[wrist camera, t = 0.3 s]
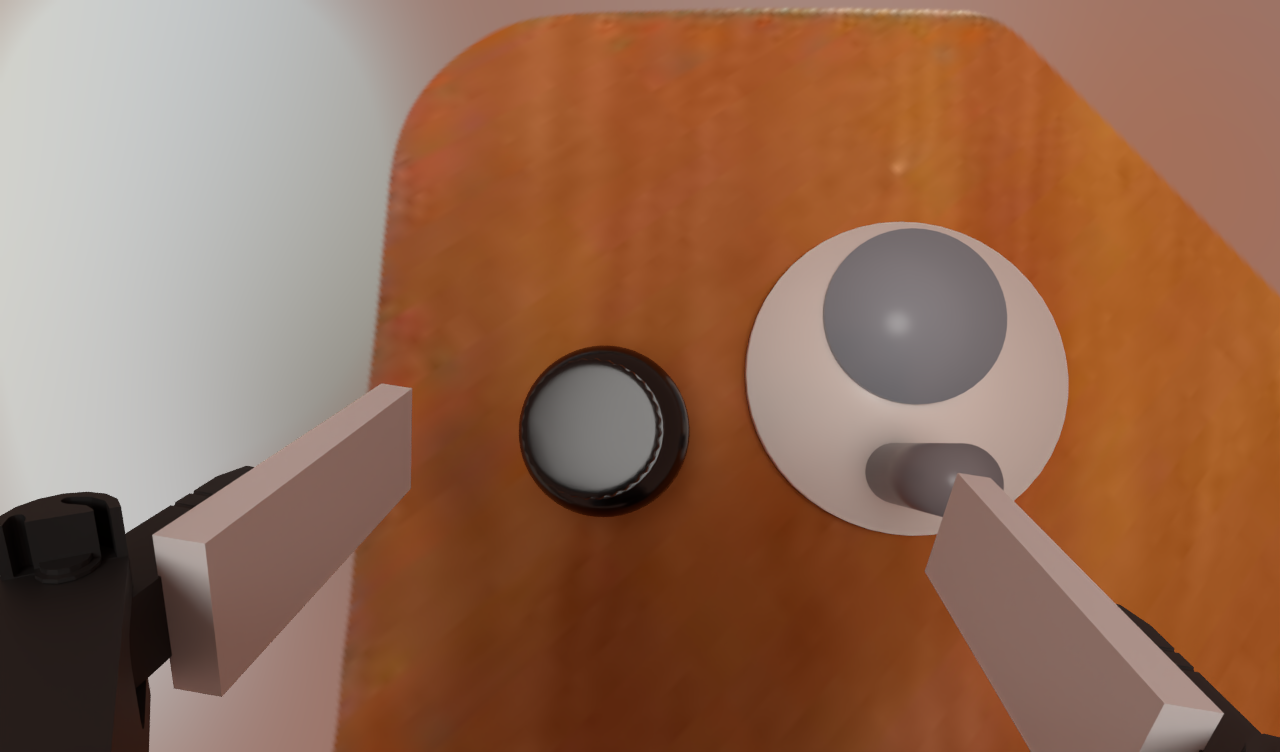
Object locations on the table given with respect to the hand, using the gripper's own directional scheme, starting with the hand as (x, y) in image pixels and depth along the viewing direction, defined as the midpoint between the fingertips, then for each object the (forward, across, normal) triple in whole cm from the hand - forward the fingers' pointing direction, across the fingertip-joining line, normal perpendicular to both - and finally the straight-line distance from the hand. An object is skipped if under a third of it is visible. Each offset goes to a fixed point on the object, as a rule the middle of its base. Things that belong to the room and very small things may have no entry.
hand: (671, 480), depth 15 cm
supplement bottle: (+16, +2, +6) cm, 18 cm away
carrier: (+18, -12, +2) cm, 22 cm away
